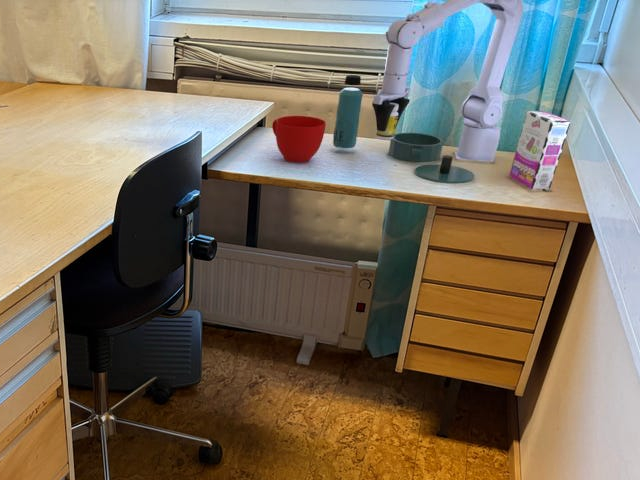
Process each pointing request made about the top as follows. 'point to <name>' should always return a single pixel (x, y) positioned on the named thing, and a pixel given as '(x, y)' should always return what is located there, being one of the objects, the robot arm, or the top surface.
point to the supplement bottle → (390, 125)
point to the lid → (444, 172)
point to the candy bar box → (539, 149)
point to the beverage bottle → (348, 114)
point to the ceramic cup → (298, 137)
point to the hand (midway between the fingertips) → (386, 129)
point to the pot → (415, 147)
